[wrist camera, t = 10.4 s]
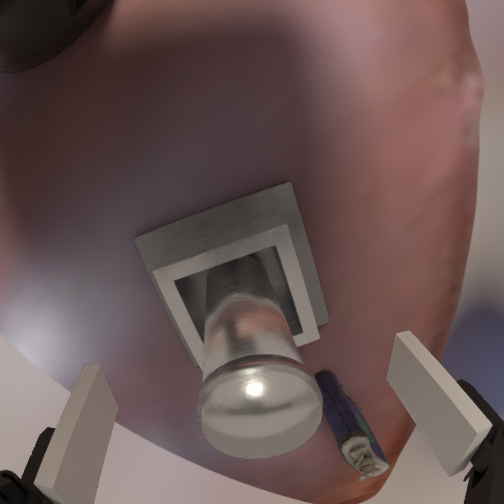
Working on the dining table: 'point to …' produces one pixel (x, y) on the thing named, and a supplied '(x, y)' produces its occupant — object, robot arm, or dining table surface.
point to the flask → (350, 428)
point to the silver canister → (252, 368)
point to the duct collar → (229, 248)
